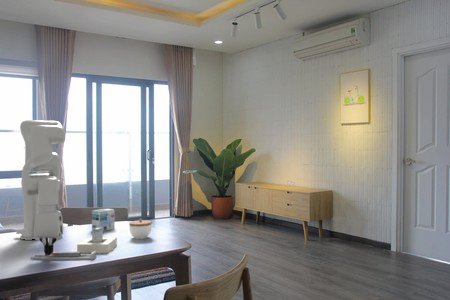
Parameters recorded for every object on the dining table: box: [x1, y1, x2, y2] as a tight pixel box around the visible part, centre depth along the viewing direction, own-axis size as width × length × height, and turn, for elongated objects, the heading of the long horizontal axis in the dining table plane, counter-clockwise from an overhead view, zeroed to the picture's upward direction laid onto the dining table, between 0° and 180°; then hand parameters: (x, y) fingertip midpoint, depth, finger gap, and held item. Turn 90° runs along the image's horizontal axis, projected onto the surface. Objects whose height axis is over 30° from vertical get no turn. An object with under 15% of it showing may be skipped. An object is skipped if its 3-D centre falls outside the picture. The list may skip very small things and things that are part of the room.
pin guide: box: [30, 251, 97, 261], centre depth 161 cm, size 25×4×2 cm, turn 89°
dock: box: [76, 237, 118, 254], centre depth 176 cm, size 13×13×4 cm
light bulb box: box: [91, 208, 116, 231], centre depth 219 cm, size 11×7×11 cm, turn 148°
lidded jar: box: [129, 218, 152, 240], centre depth 198 cm, size 11×11×9 cm
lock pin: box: [51, 251, 82, 257], centre depth 161 cm, size 11×2×2 cm, turn 89°
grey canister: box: [91, 227, 104, 243], centre depth 176 cm, size 4×4×9 cm
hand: (48, 254), depth 161 cm, fingers closed
